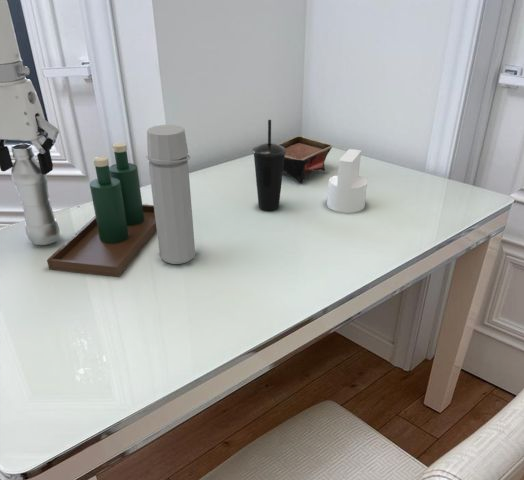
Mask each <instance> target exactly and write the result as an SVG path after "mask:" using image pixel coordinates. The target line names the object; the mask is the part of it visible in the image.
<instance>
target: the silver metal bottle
mask: <svg viewBox="0 0 524 480" xmlns="http://www.w3.org/2000/svg"><path fill="white" fill-rule="evenodd" d="M10 149H11V153H12V158H13V159H15V160H14V162H13V167H11V170H10V171H11V172H10V177H11V180H12V182H13V186H14V187H15V190H16V191H17V194H18V198H19V200H20V203H21V206H22V210H23V216H24V222H25V226H24V227H25V233H26V236H27V238H28V240H29V241H30V242H31V243H32V244H34V245H36V246H48V245H51V244H54V243H56V242H57V241H58V240H59V237H60V236H61V234H60V226H59V224H58V221H57V219H56V218H55V214H54V211H53V208H52V205H51V200H50V195H49V188H48V176H47V174H46V175H44V174H42V173H41V169H40V165H39V161H38V159H36V158H35V152H34V150H33V146H32V144H29V143H18V144H14V145H12V146H11V147H10Z"/></svg>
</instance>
